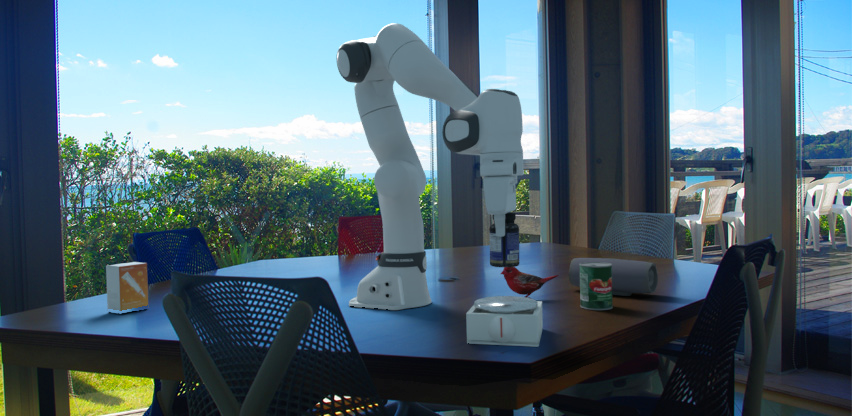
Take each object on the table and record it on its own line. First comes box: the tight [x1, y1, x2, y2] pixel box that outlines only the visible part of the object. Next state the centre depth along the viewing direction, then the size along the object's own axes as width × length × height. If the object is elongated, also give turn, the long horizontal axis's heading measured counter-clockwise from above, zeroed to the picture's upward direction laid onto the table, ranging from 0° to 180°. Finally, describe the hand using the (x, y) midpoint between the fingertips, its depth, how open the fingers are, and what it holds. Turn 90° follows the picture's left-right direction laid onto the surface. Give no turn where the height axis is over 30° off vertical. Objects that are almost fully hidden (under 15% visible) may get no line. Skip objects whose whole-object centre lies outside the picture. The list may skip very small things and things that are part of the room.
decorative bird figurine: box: [500, 267, 559, 299], centre depth 151 cm, size 3×18×10 cm, turn 107°
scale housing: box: [465, 300, 544, 348], centre depth 115 cm, size 14×15×6 cm
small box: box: [105, 261, 149, 311], centre depth 151 cm, size 8×6×13 cm
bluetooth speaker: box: [568, 257, 659, 297], centre depth 157 cm, size 23×9×10 cm, turn 50°
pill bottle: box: [488, 211, 520, 268], centre depth 115 cm, size 6×6×11 cm
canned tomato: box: [579, 262, 614, 311], centre depth 140 cm, size 8×8×11 cm
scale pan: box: [473, 295, 538, 314], centre depth 115 cm, size 13×13×4 cm
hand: (503, 234), depth 115 cm, fingers closed on pill bottle, 6 cm apart
